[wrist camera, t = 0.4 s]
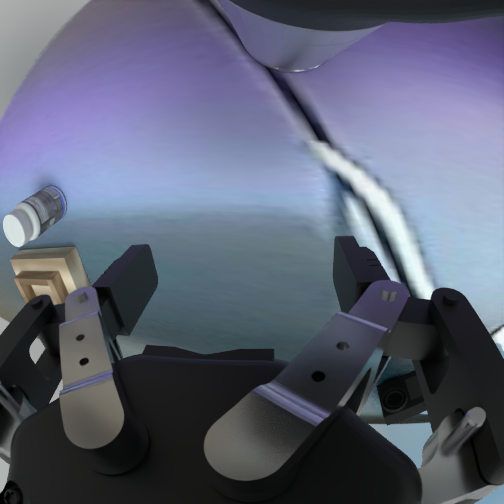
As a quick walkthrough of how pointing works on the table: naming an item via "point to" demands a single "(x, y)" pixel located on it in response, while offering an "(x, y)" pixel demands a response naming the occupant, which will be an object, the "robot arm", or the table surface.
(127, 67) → the table surface
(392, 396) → the digital camera
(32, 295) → the wooden base
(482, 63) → the table surface
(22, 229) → the pill bottle
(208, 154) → the table surface
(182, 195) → the table surface
